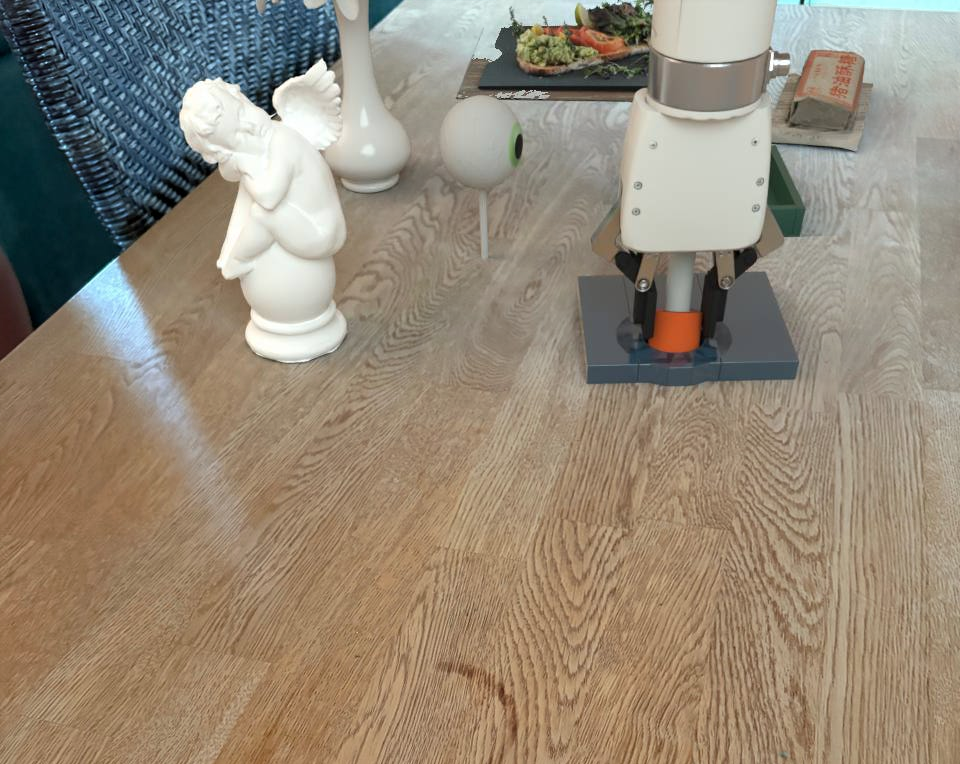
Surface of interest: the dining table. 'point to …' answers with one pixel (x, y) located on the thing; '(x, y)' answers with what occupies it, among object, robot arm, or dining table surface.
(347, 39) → the flower vase
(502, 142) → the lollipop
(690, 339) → the stopper
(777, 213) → the green tray
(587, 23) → the plated dish
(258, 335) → the cherub figurine
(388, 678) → the dining table surface
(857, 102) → the packaged product
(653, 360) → the plate
